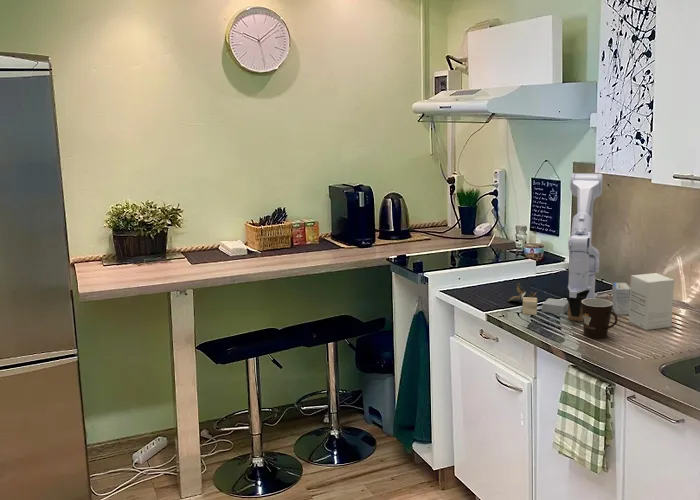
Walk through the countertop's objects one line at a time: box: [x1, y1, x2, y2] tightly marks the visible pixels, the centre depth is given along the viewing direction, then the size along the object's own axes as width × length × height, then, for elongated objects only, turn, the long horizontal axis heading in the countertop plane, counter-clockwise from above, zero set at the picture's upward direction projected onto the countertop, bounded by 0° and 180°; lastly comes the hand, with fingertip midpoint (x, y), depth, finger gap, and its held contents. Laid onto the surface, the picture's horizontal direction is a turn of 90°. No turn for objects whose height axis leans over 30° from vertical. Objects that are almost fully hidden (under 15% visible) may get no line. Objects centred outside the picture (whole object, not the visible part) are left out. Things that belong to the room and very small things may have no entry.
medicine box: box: [611, 282, 630, 316], centre depth 227 cm, size 8×4×9 cm, turn 168°
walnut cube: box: [567, 305, 583, 322], centre depth 222 cm, size 4×4×4 cm
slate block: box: [541, 297, 569, 315], centre depth 231 cm, size 7×7×3 cm
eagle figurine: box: [507, 282, 538, 302], centre depth 239 cm, size 8×7×9 cm
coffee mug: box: [581, 297, 618, 340], centre depth 204 cm, size 12×9×10 cm
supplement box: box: [628, 272, 675, 331], centre depth 213 cm, size 9×9×15 cm
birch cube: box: [522, 297, 538, 316], centre depth 229 cm, size 4×4×4 cm
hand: (576, 313), depth 222 cm, fingers closed on walnut cube, 4 cm apart
